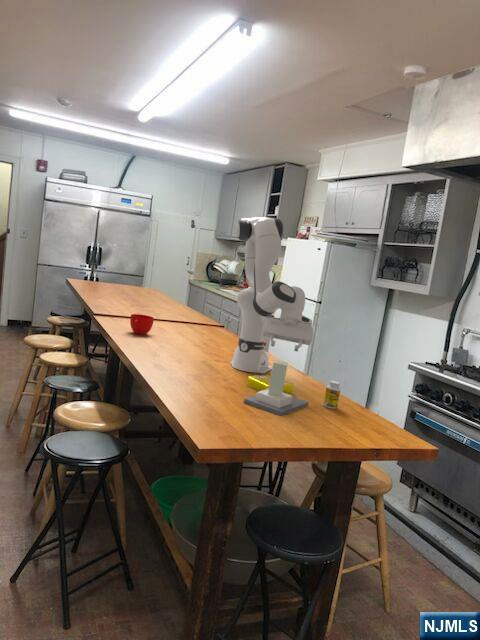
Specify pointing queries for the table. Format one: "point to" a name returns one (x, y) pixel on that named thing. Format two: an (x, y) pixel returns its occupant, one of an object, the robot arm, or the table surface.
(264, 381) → the element tile
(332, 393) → the supplement bottle
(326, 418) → the table surface
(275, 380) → the sage block
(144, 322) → the ceramic cup
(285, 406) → the slate board
